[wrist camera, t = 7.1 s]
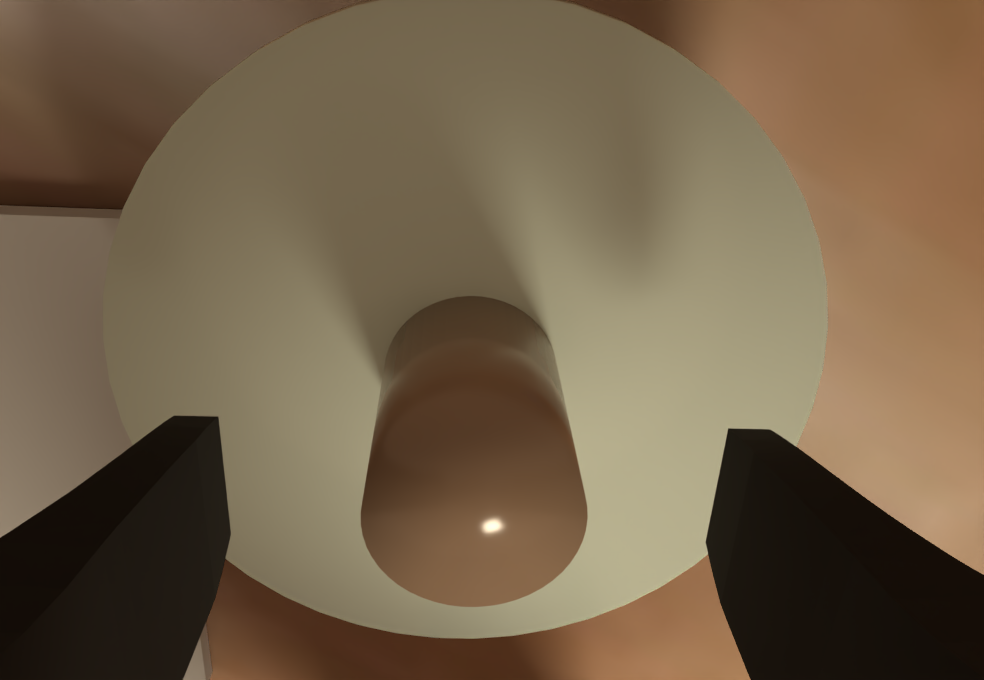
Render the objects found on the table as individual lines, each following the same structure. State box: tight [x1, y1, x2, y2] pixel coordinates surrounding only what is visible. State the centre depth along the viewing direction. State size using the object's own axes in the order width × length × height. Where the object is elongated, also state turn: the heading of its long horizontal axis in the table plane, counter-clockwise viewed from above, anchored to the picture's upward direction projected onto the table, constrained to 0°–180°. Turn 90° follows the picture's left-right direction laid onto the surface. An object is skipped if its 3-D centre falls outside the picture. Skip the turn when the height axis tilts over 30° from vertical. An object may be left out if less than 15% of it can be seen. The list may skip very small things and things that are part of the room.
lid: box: [103, 0, 828, 639], centre depth 14 cm, size 12×12×5 cm
